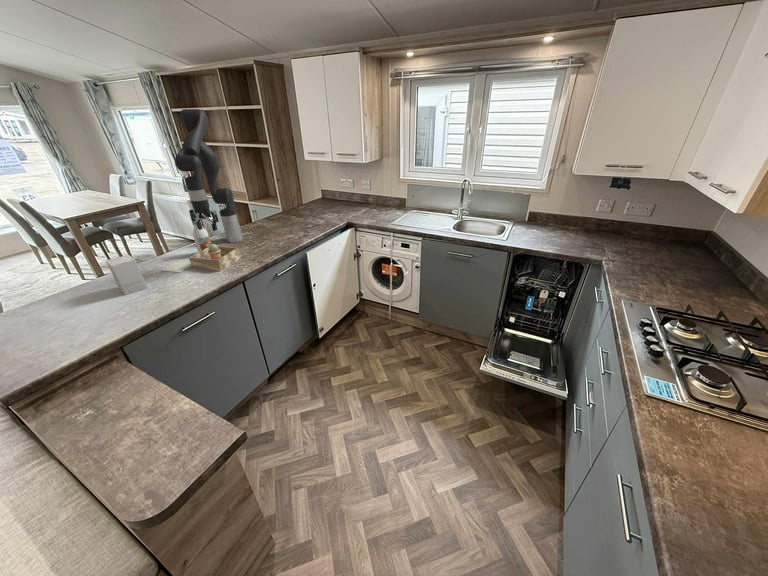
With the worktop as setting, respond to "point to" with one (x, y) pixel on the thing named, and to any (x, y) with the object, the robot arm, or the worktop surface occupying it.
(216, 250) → the terracotta pot
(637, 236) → the worktop surface
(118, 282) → the supplement box
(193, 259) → the wooden shadow box
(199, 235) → the milk bottle
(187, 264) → the sage mat
